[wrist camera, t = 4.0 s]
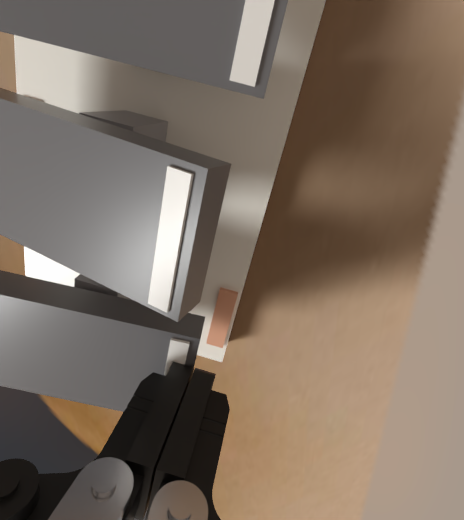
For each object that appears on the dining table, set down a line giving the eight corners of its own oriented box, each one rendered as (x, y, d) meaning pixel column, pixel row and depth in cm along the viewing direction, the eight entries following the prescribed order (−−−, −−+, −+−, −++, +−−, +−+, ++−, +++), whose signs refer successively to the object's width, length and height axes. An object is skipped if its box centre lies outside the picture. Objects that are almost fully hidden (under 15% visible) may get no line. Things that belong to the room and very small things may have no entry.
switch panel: (39, -119, 11) (-104, -245, 7) (338, -48, 11) (367, -139, 7) (46, 289, 18) (-24, 343, 14) (227, 342, 18) (208, 413, 14)
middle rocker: (-6, 86, 10) (-54, 80, 9) (231, 163, 8) (205, 169, 7) (3, 210, 12) (-36, 218, 11) (199, 301, 10) (175, 323, 9)
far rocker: (-29, 263, 11) (-62, 283, 10) (205, 316, 12) (200, 340, 11) (-18, 353, 13) (-45, 378, 12) (186, 397, 14) (179, 426, 12)
